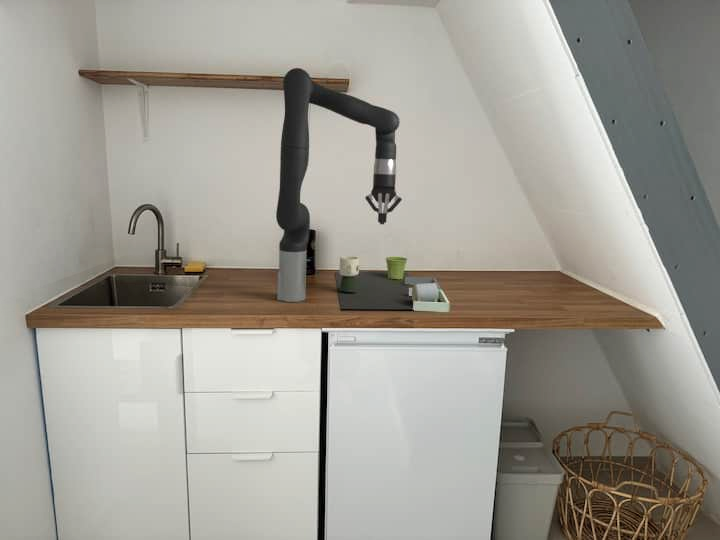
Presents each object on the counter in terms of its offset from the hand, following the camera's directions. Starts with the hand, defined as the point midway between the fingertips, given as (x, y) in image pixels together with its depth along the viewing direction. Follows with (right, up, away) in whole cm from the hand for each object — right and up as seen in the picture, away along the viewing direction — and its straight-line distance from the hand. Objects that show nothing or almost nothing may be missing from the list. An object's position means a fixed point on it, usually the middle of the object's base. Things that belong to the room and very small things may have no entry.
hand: (382, 224), depth 181 cm
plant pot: (+7, -20, +43) cm, 47 cm away
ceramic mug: (+15, -28, +1) cm, 32 cm away
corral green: (+16, -28, +3) cm, 32 cm away
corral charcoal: (+16, -24, +23) cm, 37 cm away
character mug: (-12, -24, +15) cm, 31 cm away
